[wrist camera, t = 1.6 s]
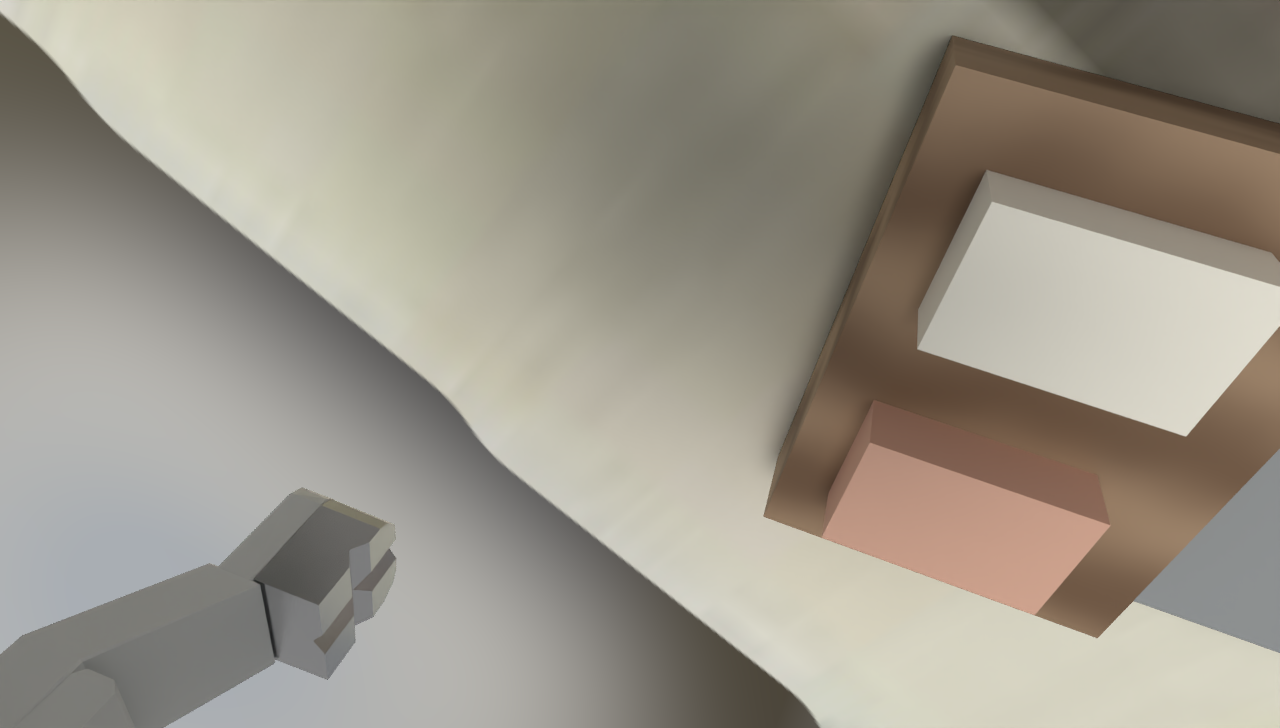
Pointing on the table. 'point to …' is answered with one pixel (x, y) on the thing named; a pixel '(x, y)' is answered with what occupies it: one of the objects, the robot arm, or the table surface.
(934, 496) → the clay tile
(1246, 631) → the mat
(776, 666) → the table surface
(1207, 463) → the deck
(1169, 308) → the cream tile
